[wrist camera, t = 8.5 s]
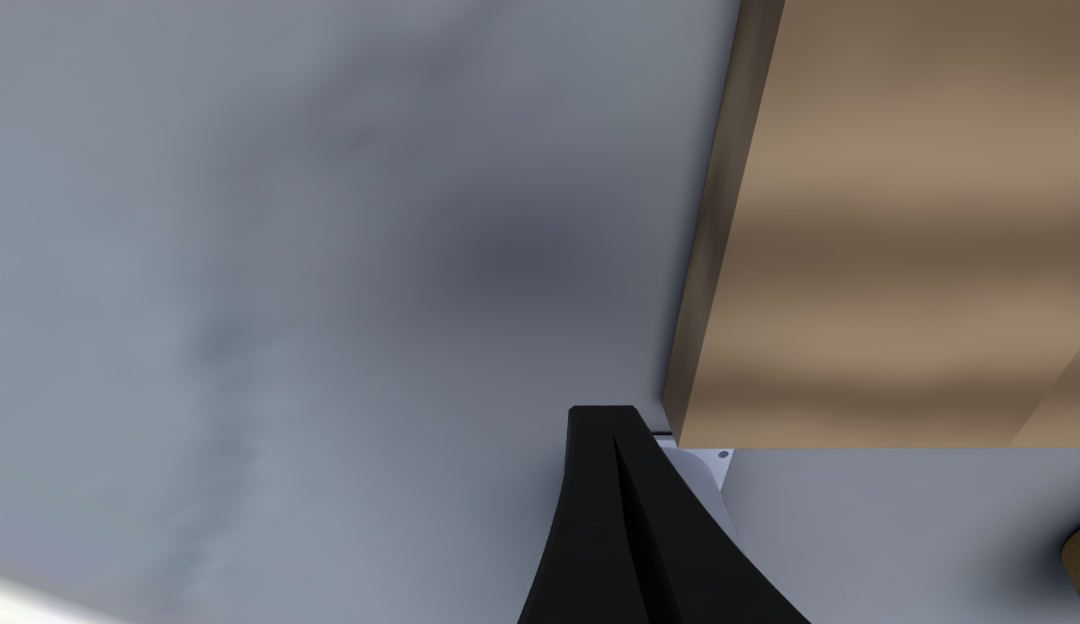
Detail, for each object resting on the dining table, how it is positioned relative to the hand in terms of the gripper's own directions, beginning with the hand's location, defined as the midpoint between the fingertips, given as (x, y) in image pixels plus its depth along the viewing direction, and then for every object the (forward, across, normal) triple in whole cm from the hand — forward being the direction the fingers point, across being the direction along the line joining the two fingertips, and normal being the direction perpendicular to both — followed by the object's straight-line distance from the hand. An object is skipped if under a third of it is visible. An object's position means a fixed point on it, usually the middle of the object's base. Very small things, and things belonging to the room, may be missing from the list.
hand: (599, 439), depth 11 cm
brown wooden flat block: (+10, -16, -1) cm, 19 cm away
